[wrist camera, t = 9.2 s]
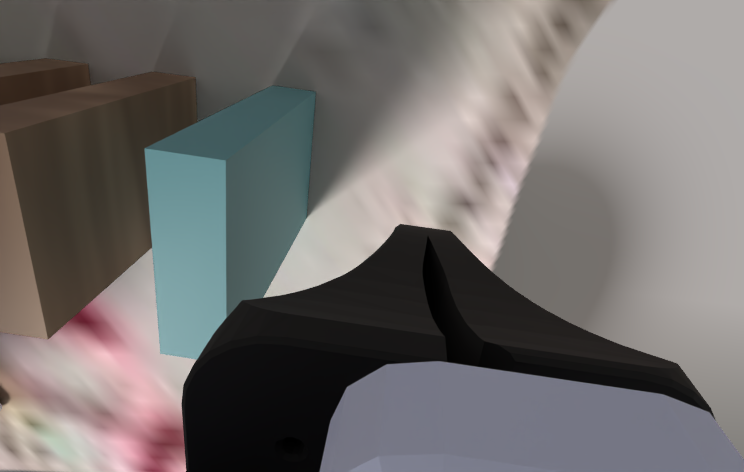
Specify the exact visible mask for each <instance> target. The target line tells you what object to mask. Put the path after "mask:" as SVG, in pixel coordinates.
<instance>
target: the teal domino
mask: <svg viewBox="0 0 744 472" xmlns="http://www.w3.org/2000/svg"><path fill="white" fill-rule="evenodd" d="M315 97H316V92H314V91H307V90H301V89H294V88H287V87H280V86H273V85H272V86H270V87H268V88H266V89H264V90H262V91H260V92H258V93H256V94H254V95H252V96H250V97H248V98H246V99H244V100H242V101H240V102H238V103H236V104H234V105H232V106H229V107H227V108H225V109H223V110H221V111H219V112H217V113H215V114H213V115H211V116H209V117H207V118H205V119H203V120H201V121H199V122H197V123H195V124H193V125H191V126H189V127H187V128H185V129H183V130H181V131H179V132H177V133H175V134H173V135H171V136H169V137H166V138H164V139H162V140H160V141H158V142H156V143H154V144H152V145H150V146H148V147H146V148H144V149H145V162H146V174H147V187H148V200H149V213H150V226H151V239H152V252H153V264H154V277H155V290H156V303H157V316H158V329H159V342H160V354H166V355H172V356H179V357H185V358H191V359H198V357H199V356H200V354H201V353H202V351H203V349H204V348H205V346H206V345H207V343H208V342H209V340H210V339H211V337H212V335H213V334H214V333H215V331H216V330H217V329H218V328H219V326H220V325H221V324H222V323H223V321H224V320H225V319H226V318H227V317H228V316H229V315H230V314H231V312H232V311H233V310H234V309H235V308H236V307H237V305H238V304H239V303H240V302H241V301H242V300H251V299H259V298H263V297H264V295H265V293H266V291H267V289H268V288H269V286H270V284H271V282H272V280H273V278H274V277H275V275H276V273H277V271H278V269H279V267H280V266H281V264H282V262H283V260H284V258H285V256H286V255H287V253H288V251H289V249H290V247H291V245H292V244H293V242H294V240H295V238H296V236H297V235H298V233H299V231H300V229H301V227H302V225H303V224H304V222H305V220H306V218H307V205H308V192H309V178H310V165H311V151H312V138H313V124H314V111H315Z"/></svg>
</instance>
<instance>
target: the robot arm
mask: <svg viewBox="0 0 744 472" xmlns="http://www.w3.org/2000/svg"><path fill="white" fill-rule="evenodd" d="M1 409H2V405H1V403H0V410H1ZM182 415H183V429H184V443H185V457H186V470H187V471H186V472H744V459H743V457H742V456H741V455H740V453H739V452H738V451H737V449H736V448H735V447H734V445H733V444H732V442H731V441H730V440H729V438H728V437H727V436H726V434H725V433H724V432H723V430H722V429H721V427H719V425H718V423H717V422H716V420H715V418H714V415H713V413H712V411H711V408H710V407H709V405H708V404H707V403H706V401H705V400H704V399H703V397H702V396H701V394H700V393H699V392H698V390H697V389H696V388H695V386H694V385H693V384H692V382H691V381H690V380H689V378H688V377H687V376H686V374H685V373H684V372H683V370H682V369H681V368H680V366H679V365H678V364H676V363H674V362H671V361H668V360H665V359H662V358H659V357H656V356H653V355H650V354H646V353H643V352H641V351H637V350H634V349H631V348H629V347H625V346H622V345H620V344H617V343H614V342H612V341H610V340H607V339H605V338H603V337H600V336H598V335H595V334H593V333H590V332H588V331H586V330H583V329H582V328H580V327H577V326H575V325H573V324H571V323H569V322H567V321H565V320H563V319H561V318H559V317H558V316H556V315H554V314H552V313H550V312H548V311H546V310H545V309H543V308H541V307H540V306H538V305H536V304H535V303H533V302H531V301H530V300H529V299H527V298H525V297H524V296H523V295H521V294H520V293H518V292H517V291H515V290H514V289H513V288H511V287H510V286H509V285H507V284H506V283H505V282H503V281H502V280H501V279H500V278H499V277H497V276H496V275H495V274H494V273H493V272H491V271H490V270H489V269H488V268H487V267H486V266H485V265H484V264H483V263H482V262H481V261H480V260H479V259H478V258H477V257H476V256H474V255H473V254H472V252H471V251H470V250H469V249H468V248H467V247H466V246H465V245H464V244H463V243H462V242H461V241H460V240H459V239H458V238H457V237H456V236H455V235H454V234H453V233H452V232H451V231H446V230H439V229H432V228H425V227H418V226H410V225H403V224H400V225H398V226H397V227H395V230H394V231H393V233H392V234H391V236H390V237H389V238H388V239H387V240H386V242H385V243H384V244H383V245H382V246H381V247H380V248H379V249H378V250H377V251H376V252H375V253H374V254H372V255H371V256H370V257H369V258H368V259H366V260H365V261H364V262H363V263H361V264H360V265H359V266H357V267H356V268H354V269H353V270H351V271H350V272H348V273H346V274H344V275H342V276H340V277H338V278H336V279H333V280H331V281H328V282H326V283H324V284H321V285H319V286H316V287H313V288H309V289H306V290H303V291H299V292H295V293H290V294H286V295H281V296H274V297H266V298H259V299H251V300H242V301H241V302H240V303H239V304H238V305H237V307H236V308H235V309H234V310H233V311H232V312H231V314H230V315H229V316H228V317H227V318H226V319H225V320H224V321H223V323H222V324H221V325H220V326H219V328H218V329H217V330H216V331H215V333H214V334H213V335H212V337H211V339H210V340H209V342H208V343H207V345H206V346H205V348H204V349H203V351H202V353H201V354H200V356H199V357H198V359H197V361H196V362H195V364H194V365H193V367H192V369H191V371H190V373H189V375H188V377H187V379H186V381H185V383H184V387H183V396H182Z"/></svg>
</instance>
